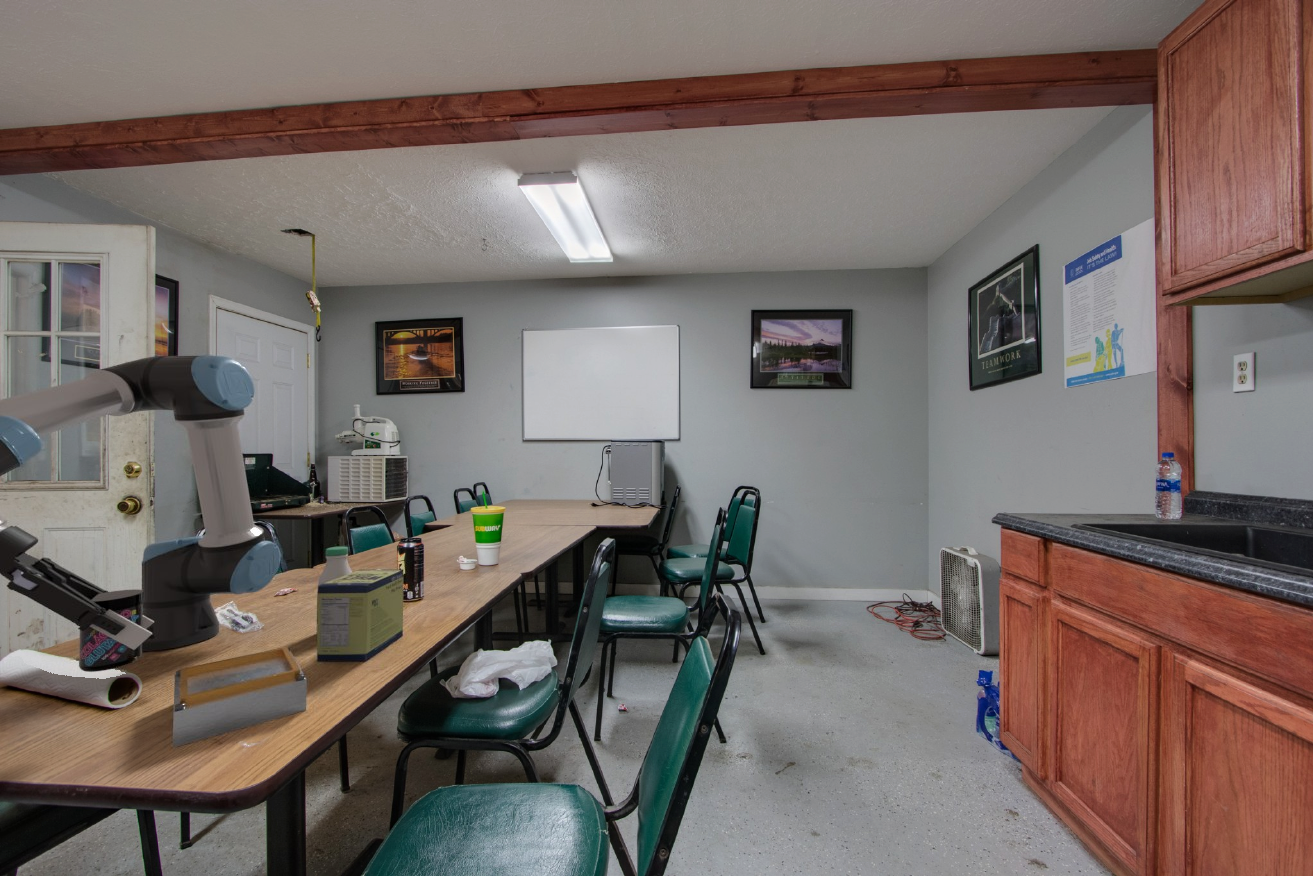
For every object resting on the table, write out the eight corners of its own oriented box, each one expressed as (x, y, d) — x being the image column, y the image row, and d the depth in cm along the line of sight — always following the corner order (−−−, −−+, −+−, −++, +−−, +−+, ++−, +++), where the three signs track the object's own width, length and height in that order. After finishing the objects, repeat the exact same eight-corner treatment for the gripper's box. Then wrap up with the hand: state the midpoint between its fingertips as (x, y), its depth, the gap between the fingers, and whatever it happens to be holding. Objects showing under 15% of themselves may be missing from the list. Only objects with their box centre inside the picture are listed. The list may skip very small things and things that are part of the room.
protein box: (403, 635, 120) (404, 568, 121) (366, 662, 105) (367, 584, 105) (359, 636, 120) (359, 568, 121) (315, 662, 105) (316, 585, 105)
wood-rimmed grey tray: (174, 704, 87) (174, 667, 87) (289, 676, 98) (289, 643, 98) (172, 748, 74) (173, 703, 74) (306, 710, 85) (306, 671, 85)
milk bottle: (333, 626, 127) (334, 544, 128) (362, 627, 126) (363, 545, 127) (308, 637, 120) (309, 550, 120) (338, 638, 119) (339, 550, 119)
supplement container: (63, 675, 75) (65, 602, 75) (105, 656, 82) (107, 590, 82) (117, 671, 76) (118, 600, 76) (154, 654, 83) (155, 588, 83)
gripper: (-31, 556, 76) (125, 639, 87) (-81, 580, 62) (113, 676, 72) (26, 517, 80) (169, 601, 91) (-9, 530, 65) (166, 629, 76)
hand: (144, 634), depth 81 cm, fingers closed on supplement container, 7 cm apart
